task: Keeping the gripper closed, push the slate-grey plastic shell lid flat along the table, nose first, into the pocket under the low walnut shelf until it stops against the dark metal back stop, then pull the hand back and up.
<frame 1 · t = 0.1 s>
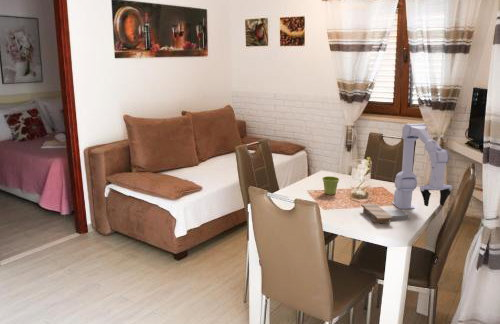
hand: (433, 205, 206), 10 cm above the table, tool pointing down, fingers open, 7 cm apart
grey shell: (394, 216, 220), on the table
plant pot: (329, 193, 255), on the table
walnut shelf: (376, 217, 218), on the table
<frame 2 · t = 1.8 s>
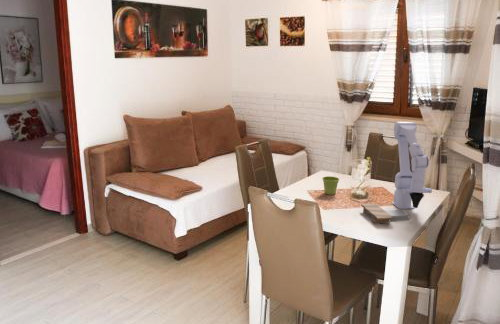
hand: (415, 207, 220), 4 cm above the table, tool pointing down, fingers closed
nothing on the table moved.
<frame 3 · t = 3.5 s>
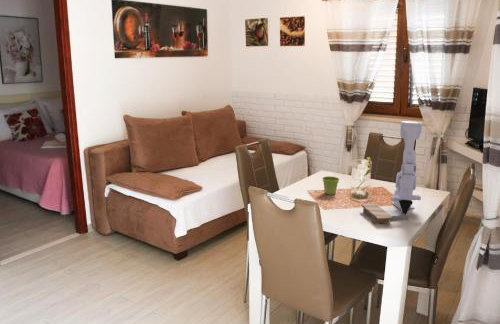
hand: (404, 214, 220), 1 cm above the table, tool pointing down, fingers closed
grey shell: (392, 216, 220), on the table, touching gripper
everything else where it was.
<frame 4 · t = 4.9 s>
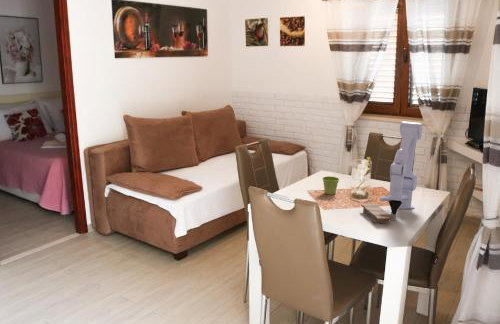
hand: (393, 214, 219), 1 cm above the table, tool pointing down, fingers closed
grey shell: (382, 217, 219), on the table, touching gripper, walnut shelf
everything else where it was.
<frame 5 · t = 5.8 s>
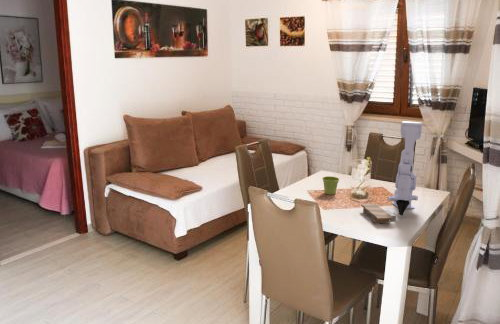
hand: (401, 214, 220), 1 cm above the table, tool pointing down, fingers closed
grey shell: (382, 217, 219), on the table
everything else where it was.
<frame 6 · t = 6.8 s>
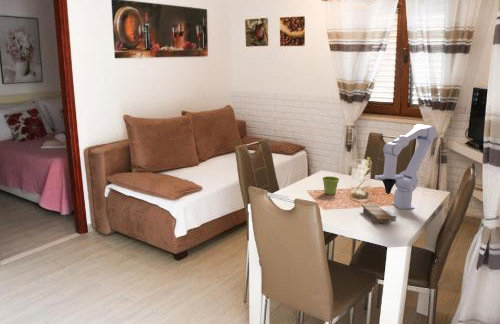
hand: (387, 193, 226), 9 cm above the table, tool pointing down, fingers closed
nothing on the table moved.
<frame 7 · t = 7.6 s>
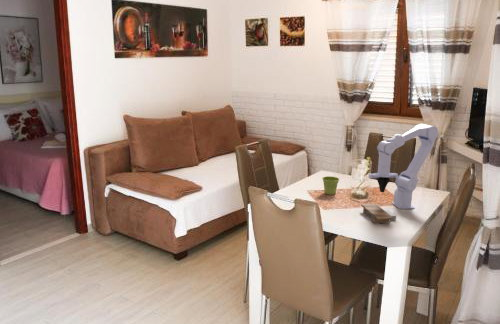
hand: (381, 191, 228), 9 cm above the table, tool pointing down, fingers closed
nothing on the table moved.
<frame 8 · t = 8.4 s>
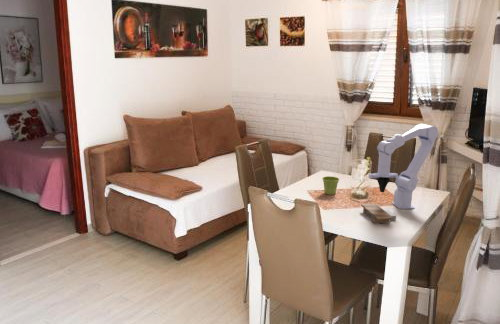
hand: (381, 191, 228), 9 cm above the table, tool pointing down, fingers closed
nothing on the table moved.
at the end: grey shell 0.1 cm from the target spot, on the table; grey shell moved 6.5 cm from its start; grey shell tilted 0° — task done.
